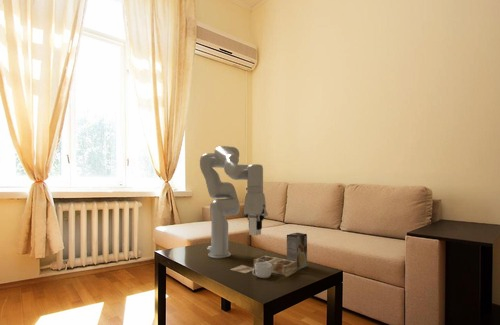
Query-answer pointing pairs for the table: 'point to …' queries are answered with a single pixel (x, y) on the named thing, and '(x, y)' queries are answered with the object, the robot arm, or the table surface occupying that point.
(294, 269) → the socket board
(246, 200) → the robot arm
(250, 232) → the plug
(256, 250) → the table surface
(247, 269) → the mat
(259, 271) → the teacup
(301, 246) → the coffee box
